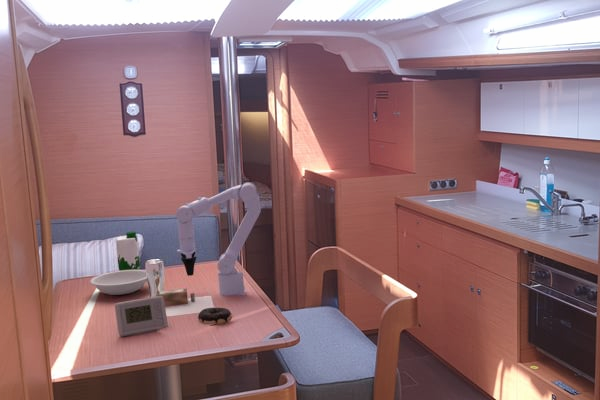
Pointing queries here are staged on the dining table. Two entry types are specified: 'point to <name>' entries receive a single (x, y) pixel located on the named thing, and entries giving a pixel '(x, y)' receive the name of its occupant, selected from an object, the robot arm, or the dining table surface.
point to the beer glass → (155, 276)
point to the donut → (214, 316)
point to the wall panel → (190, 306)
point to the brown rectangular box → (174, 297)
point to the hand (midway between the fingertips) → (189, 272)
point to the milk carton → (128, 252)
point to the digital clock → (141, 315)
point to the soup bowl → (120, 281)
